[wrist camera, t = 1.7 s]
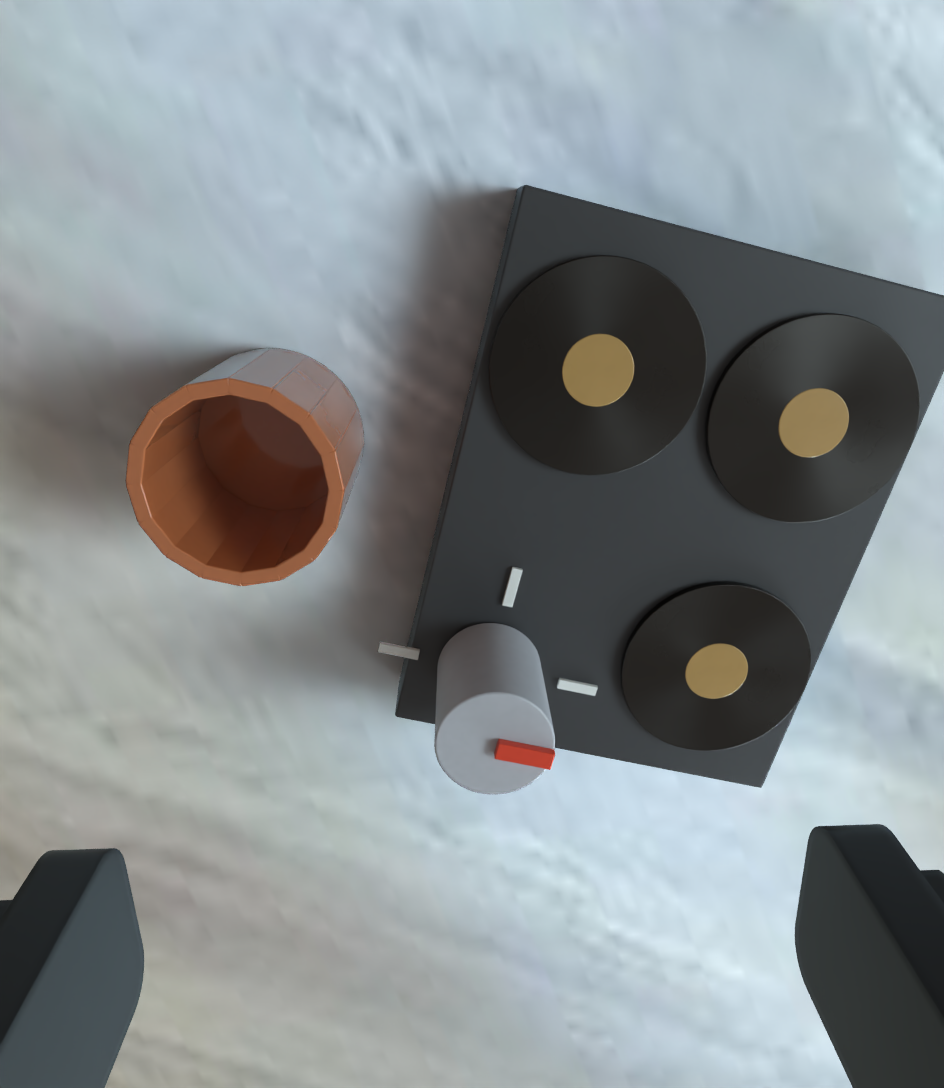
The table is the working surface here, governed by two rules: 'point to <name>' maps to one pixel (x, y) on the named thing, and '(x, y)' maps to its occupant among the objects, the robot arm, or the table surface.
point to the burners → (734, 452)
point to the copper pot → (247, 467)
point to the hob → (639, 492)
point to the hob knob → (492, 710)
